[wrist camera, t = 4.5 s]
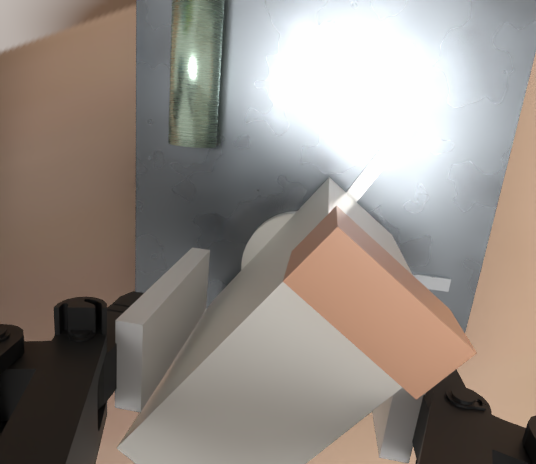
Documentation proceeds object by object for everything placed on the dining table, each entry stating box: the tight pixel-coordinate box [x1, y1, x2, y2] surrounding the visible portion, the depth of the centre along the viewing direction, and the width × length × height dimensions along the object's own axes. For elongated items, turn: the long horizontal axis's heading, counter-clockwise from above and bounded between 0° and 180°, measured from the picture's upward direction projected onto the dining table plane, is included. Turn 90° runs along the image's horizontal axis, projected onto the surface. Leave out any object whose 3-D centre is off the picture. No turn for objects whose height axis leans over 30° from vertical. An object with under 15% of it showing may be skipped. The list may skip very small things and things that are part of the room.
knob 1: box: [117, 177, 477, 464], centre depth 14 cm, size 8×5×10 cm, turn 139°
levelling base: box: [135, 0, 536, 333], centre depth 17 cm, size 16×28×4 cm, turn 175°
